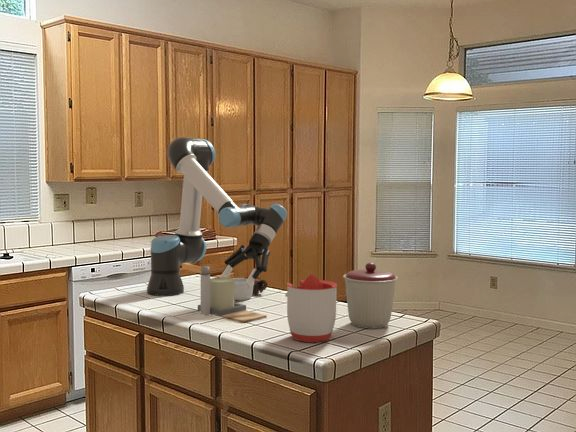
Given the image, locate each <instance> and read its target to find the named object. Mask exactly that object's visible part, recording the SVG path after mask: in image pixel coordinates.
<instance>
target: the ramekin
mask: <svg viewBox="0 0 576 432" xmlns="http://www.w3.org/2000/svg"><path fill="white" fill-rule="evenodd" d="M232 278H233V277H232ZM233 279H234V301H235V300H240V301H246V300H250V299H251V298H252V296H253V295H252V293H253V285H254V282H253V284H252V286H251V287H248V285H247V284H246V283H245V282H246V281H247V279H246V277H234V278H233Z"/></svg>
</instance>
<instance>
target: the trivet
mask: <svg viewBox="0 0 576 432" xmlns="http://www.w3.org/2000/svg"><path fill="white" fill-rule="evenodd" d="M221 318H222V319H226V320H229V321H234V322H237V323H242V324H246V323H250V322H255V321H258V320H261V319H266V318H267V314H263V313H258V312H254V311H249V310H246V311H245V310H243V311H239V312H235V313H230V314H226V315H222V316H221Z"/></svg>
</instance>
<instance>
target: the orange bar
mask: <svg viewBox="0 0 576 432" xmlns="http://www.w3.org/2000/svg"><path fill="white" fill-rule="evenodd" d="M210 267H211V266H208V265H206V266H201V265H197V264H193V263H182V265H181V269H182V270H186V271H190V272H193V273H197V274H200V275H208V274H209V275H211V274H210V273H211V270H210V269H211V268H210Z"/></svg>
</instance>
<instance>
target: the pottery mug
mask: <svg viewBox="0 0 576 432" xmlns="http://www.w3.org/2000/svg"><path fill="white" fill-rule="evenodd" d="M248 277H249V276H247V277H245V278H246V279H248ZM268 284H269V283H268V281H267V280H266V279H261V278H260V277H259V276H258V277H257V279H255V281H254V285H253V293H252V296H259V294H260V293H261V294H262V293H263V292H264V291H265V290H267V287H268Z"/></svg>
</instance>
